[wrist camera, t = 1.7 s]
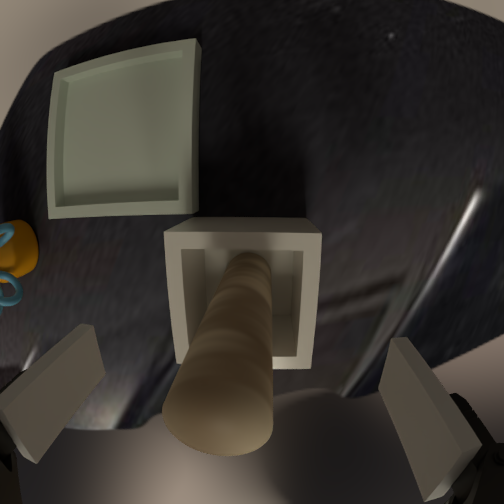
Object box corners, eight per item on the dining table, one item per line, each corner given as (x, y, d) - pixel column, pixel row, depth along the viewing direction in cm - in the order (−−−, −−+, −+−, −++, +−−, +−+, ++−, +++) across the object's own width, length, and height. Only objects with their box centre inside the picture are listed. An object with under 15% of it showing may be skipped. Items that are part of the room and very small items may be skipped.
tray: (62, 215, 24) (48, 219, 22) (67, 77, 21) (54, 72, 19) (198, 210, 23) (192, 213, 21) (201, 49, 20) (195, 38, 18)
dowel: (226, 294, 24) (171, 449, 9) (225, 252, 23) (153, 377, 8) (270, 295, 24) (270, 458, 9) (271, 252, 23) (275, 386, 8)
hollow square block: (198, 319, 26) (176, 363, 19) (193, 217, 24) (164, 231, 17) (300, 322, 25) (310, 368, 18) (306, 218, 23) (321, 233, 16)
